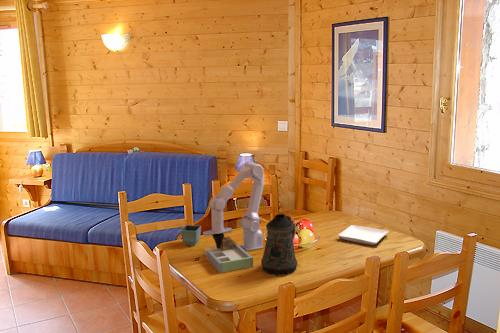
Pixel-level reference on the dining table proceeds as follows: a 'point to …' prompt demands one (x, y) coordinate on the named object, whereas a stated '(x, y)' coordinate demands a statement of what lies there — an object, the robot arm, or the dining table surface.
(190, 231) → the flower pot
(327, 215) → the dining table surface
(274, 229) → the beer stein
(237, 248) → the tray
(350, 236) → the salad plate
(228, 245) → the walnut block
